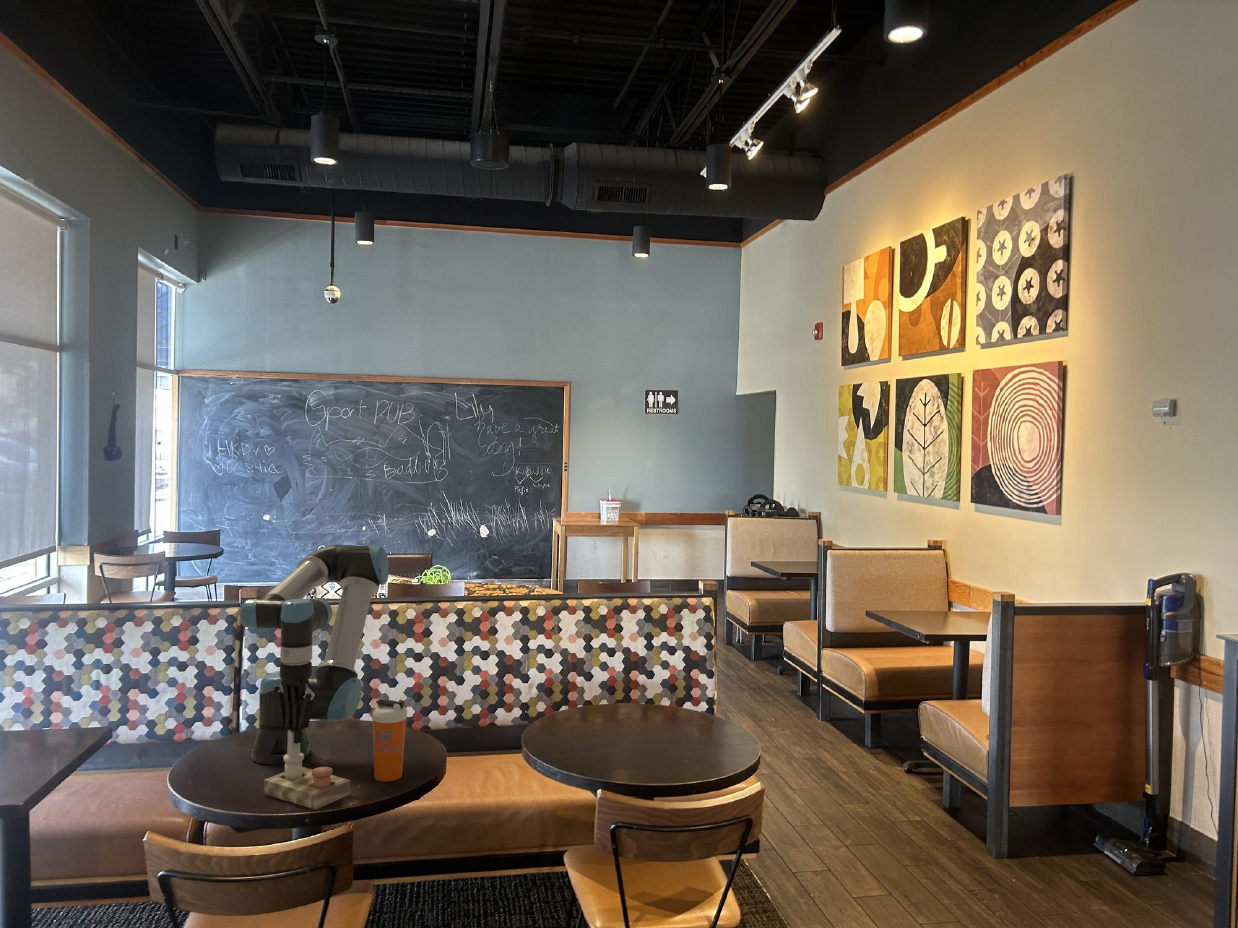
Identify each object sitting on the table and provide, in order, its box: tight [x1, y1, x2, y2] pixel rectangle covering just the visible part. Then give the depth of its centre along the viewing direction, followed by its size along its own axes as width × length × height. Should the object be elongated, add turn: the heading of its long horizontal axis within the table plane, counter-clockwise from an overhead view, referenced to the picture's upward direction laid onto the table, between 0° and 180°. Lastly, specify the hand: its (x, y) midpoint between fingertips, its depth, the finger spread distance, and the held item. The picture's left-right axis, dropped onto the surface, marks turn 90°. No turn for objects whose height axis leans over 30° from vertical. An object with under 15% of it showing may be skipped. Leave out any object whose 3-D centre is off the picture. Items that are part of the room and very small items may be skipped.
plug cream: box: [283, 753, 305, 781], centre depth 213 cm, size 5×5×7 cm
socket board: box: [263, 766, 351, 811], centre depth 211 cm, size 18×11×4 cm, turn 62°
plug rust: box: [312, 766, 333, 790], centre depth 209 cm, size 5×5×7 cm
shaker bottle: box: [371, 698, 408, 783], centre depth 224 cm, size 9×9×20 cm
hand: (293, 754), depth 213 cm, fingers closed
